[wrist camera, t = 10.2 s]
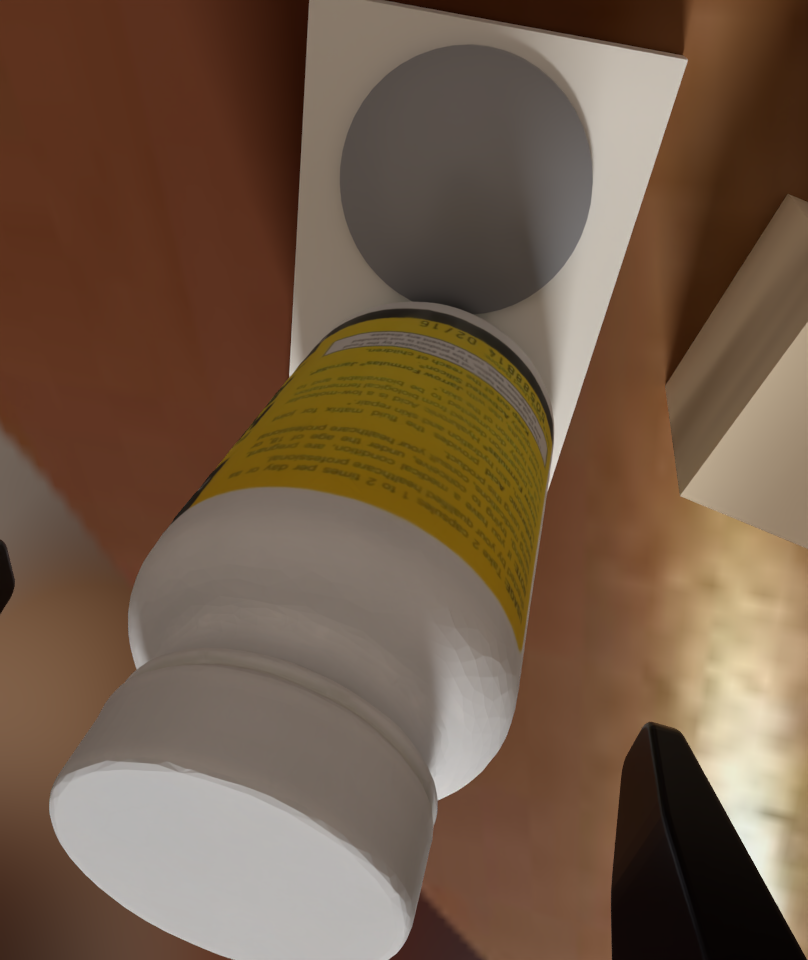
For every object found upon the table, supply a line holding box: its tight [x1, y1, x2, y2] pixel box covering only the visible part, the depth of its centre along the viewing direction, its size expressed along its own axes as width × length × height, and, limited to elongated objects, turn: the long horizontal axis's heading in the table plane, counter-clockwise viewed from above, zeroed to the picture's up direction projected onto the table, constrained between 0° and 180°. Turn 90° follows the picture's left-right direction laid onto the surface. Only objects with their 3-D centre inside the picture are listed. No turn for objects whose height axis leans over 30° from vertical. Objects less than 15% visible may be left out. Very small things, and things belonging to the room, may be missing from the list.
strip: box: [289, 0, 688, 492], centre depth 16 cm, size 6×14×1 cm, turn 172°
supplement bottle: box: [49, 302, 554, 960], centre depth 11 cm, size 5×5×10 cm
